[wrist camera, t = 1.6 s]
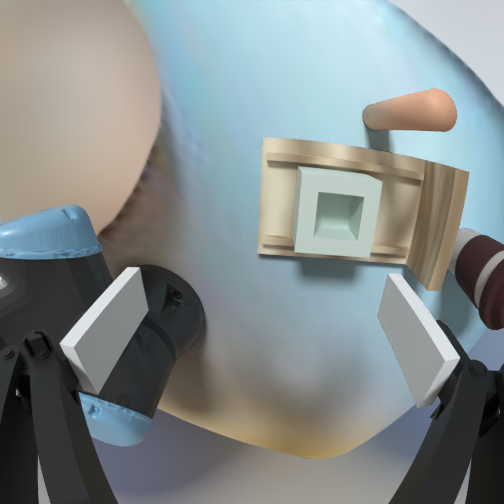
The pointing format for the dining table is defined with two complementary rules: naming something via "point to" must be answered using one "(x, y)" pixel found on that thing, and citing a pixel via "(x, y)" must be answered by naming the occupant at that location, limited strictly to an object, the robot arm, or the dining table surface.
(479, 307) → the coffee cup
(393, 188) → the board
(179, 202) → the dining table surface
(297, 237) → the block
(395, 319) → the robot arm
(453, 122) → the dowel
